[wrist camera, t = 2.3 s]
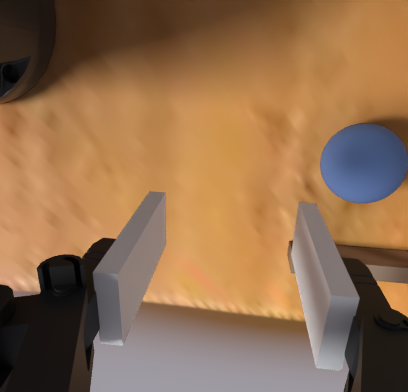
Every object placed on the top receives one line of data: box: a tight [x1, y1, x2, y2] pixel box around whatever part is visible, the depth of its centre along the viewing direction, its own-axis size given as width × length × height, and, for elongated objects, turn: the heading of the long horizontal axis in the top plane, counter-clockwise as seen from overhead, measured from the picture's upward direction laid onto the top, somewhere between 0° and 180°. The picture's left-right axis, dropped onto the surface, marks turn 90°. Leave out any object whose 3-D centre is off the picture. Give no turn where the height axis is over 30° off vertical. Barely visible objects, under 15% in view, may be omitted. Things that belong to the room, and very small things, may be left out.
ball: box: [320, 123, 408, 203], centre depth 26 cm, size 6×6×6 cm
